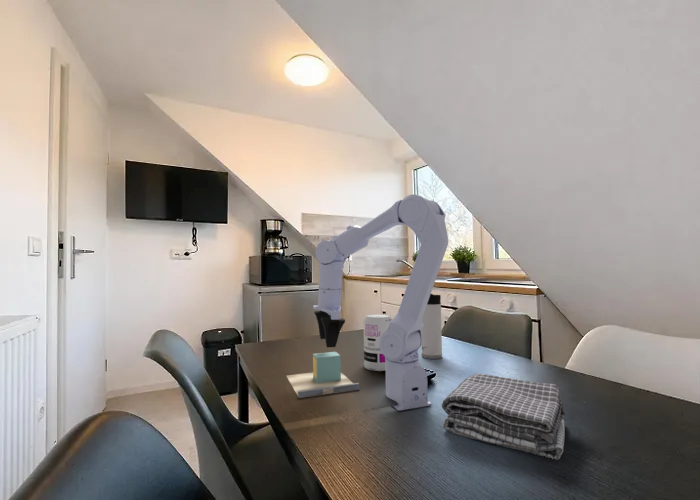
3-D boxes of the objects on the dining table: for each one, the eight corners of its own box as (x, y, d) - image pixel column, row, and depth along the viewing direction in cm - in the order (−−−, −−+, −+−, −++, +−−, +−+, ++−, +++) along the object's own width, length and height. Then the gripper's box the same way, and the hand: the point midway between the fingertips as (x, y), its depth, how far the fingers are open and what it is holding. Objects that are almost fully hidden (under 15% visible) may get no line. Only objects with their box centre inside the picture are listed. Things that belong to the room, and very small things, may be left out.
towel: (466, 405, 74) (465, 367, 74) (569, 427, 63) (567, 383, 63) (440, 434, 61) (439, 389, 61) (562, 469, 51) (560, 414, 51)
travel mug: (420, 358, 108) (419, 293, 109) (422, 353, 114) (421, 292, 115) (441, 360, 106) (440, 294, 107) (442, 354, 112) (441, 292, 113)
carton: (340, 380, 86) (340, 355, 86) (317, 383, 84) (316, 357, 84) (335, 375, 90) (335, 351, 90) (313, 378, 88) (312, 353, 88)
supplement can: (393, 365, 101) (392, 313, 102) (394, 374, 93) (393, 318, 93) (365, 365, 102) (364, 313, 102) (363, 374, 94) (362, 317, 94)
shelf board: (359, 393, 80) (359, 384, 80) (299, 402, 75) (299, 392, 75) (337, 373, 95) (337, 364, 95) (286, 379, 90) (286, 370, 90)
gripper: (309, 285, 94) (307, 335, 94) (320, 292, 80) (317, 351, 80) (335, 285, 96) (332, 335, 96) (349, 292, 82) (347, 350, 82)
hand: (327, 342), depth 88 cm, fingers open, 7 cm apart
